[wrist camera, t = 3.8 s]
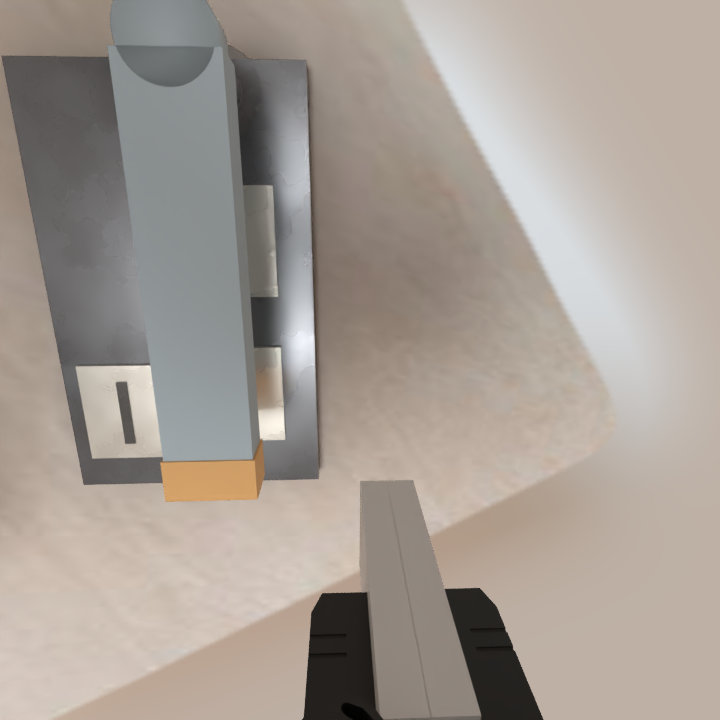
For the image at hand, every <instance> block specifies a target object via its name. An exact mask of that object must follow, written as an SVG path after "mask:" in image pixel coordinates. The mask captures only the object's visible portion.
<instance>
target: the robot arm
mask: <svg viewBox="0 0 720 720" xmlns="http://www.w3.org/2000/svg"><path fill="white" fill-rule="evenodd" d="M359 562H360V578H361V592H360V593H322V595H321V597H320V598H319V600H318V602H317V604H316V606H315V607H314V609H313V611H312V613H311V628H310V641H309V657H308V669H307V683H306V697H305V709H304V718H303V719H302V720H543V718H542V715H541V713H540V710H539V708H538V706H537V703H536V701H535V698H534V696H533V693H532V692H531V689H530V686H529V684H528V682H527V679H526V677H525V674H524V672H523V669H522V667H521V665H520V662H519V660H518V657H517V655H516V652H515V651H514V650H513V645H512V643H511V640H510V638H509V636H508V633H507V632H506V631H505V626H504V623H503V621H502V619H501V616H500V614H499V611H498V609H497V607H496V606H495V604H494V603H493V602H492V601H491V600H490V599H489V598H488V597H487V596H486V594H485V593H484V592H483V591H482V590H481V589H480V588H465V589H444V585H443V582H442V579H441V575H440V572H439V568H438V565H437V561H436V558H435V555H434V552H433V548H432V545H431V541H430V537H429V534H428V530H427V527H426V524H425V520H424V517H423V513H422V510H421V506H420V503H419V500H418V496H417V493H416V489H415V486H414V482H413V480H404V481H360V561H359Z"/></svg>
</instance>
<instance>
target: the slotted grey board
mask: <svg viewBox="0 0 720 720" xmlns="http://www.w3.org/2000/svg"><path fill="white" fill-rule="evenodd" d="M243 60H244V61H243ZM2 61H3V66H4V71H5V76H6V82H7V87H8V92H9V97H10V102H11V108H12V113H13V118H14V123H15V128H16V134H17V139H18V144H19V149H20V154H21V160H22V165H23V170H24V175H25V181H26V186H27V191H28V196H29V201H30V207H31V212H32V217H33V222H34V227H35V233H36V238H37V243H38V248H39V254H40V259H41V264H42V269H43V274H44V280H45V285H46V290H47V295H48V300H49V306H50V311H51V316H52V321H53V327H54V332H55V337H56V342H57V347H58V353H59V358H60V363H61V368H62V373H63V379H64V384H65V389H66V394H67V400H68V405H69V410H70V415H71V420H72V426H73V431H74V436H75V441H76V446H77V452H78V457H79V462H80V467H81V472H82V478H83V483H84V485H93V484H133V483H163V479H162V472H161V465H160V462H161V461H162V460H163V456H162V448H161V441H160V433H159V426H158V418H157V411H156V404H155V396H154V389H153V381H152V374H151V367H150V359H149V352H148V344H147V337H146V329H145V322H144V315H143V307H142V300H141V292H140V285H139V278H138V270H137V263H136V255H135V248H134V241H133V233H132V226H131V218H130V211H129V203H128V196H127V189H126V181H125V174H124V166H123V159H122V152H121V144H120V137H119V129H118V122H117V114H116V107H115V100H114V92H113V85H112V77H111V70H110V63H109V57H57V56H2ZM231 61H232V63H233V64H235V65H234V66H235V73H236V74H235V75H236V76H237V78H239V81H240V83H241V84H242V87H243V88H242V91H243V97H242V101H243V100H244V101H243V102H244V103H246V104H245V105H244V103H243V102H242V104H241V105H240V107H239V110H238V123H239V122H240V123H239V127H243V130H242V128H239V134H240V133H241V134H240V135H239V138H240V153H241V167H242V182H243V197H244V211H245V226H246V241H247V255H248V270H249V285H250V299H251V314H252V329H253V343H254V358H255V373H256V387H257V402H258V417H259V431H260V439H262V440H263V455H264V470H265V476H264V479H263V480H296V479H319V443H318V408H317V374H316V340H315V306H314V271H313V237H312V203H311V168H310V134H309V100H308V68H307V62H306V60H268V59H240V60H239V59H237V60H236V59H231ZM242 61H243V62H242ZM245 61H246V62H245ZM238 62H239V63H238ZM248 63H249V64H248ZM244 66H245V67H244ZM239 67H240V68H239ZM236 68H237V69H236ZM251 69H252V70H251ZM255 69H256V70H255ZM245 70H246V71H245ZM253 70H255V71H253ZM236 71H238V73H237V72H236ZM241 71H242V72H241ZM243 72H244V73H243ZM239 73H240V75H239ZM252 73H253V74H252ZM254 73H255V75H254ZM257 73H258V74H257ZM243 74H245V76H244V75H243ZM246 74H247V75H248V76H247V75H246ZM253 75H254V76H253ZM243 76H244V77H243ZM242 77H243V78H242ZM250 77H251V78H250ZM240 78H241V80H240ZM244 78H245V80H243V79H244ZM246 79H247V80H246ZM257 79H258V80H257ZM250 80H251V81H250ZM254 80H255V81H256V80H257V81H256V83H255V82H254ZM242 81H243V82H242ZM245 82H246V83H245ZM248 82H249V83H248ZM244 83H245V84H246V85H245V84H244ZM247 83H248V85H247ZM257 83H258V84H257ZM259 83H260V84H259ZM254 84H255V85H254ZM249 85H250V86H249ZM247 86H248V88H247ZM255 86H256V87H255ZM257 86H258V87H257ZM260 86H261V87H262V88H261V87H260ZM245 87H246V88H247V89H246V88H245ZM250 87H251V88H250ZM245 89H246V90H245ZM254 90H255V92H254ZM248 91H249V95H250V94H251V95H250V96H251V97H250V96H249V95H248ZM250 91H251V92H250ZM256 91H257V92H256ZM260 91H261V92H260ZM244 92H245V95H244ZM252 93H253V95H252ZM256 93H257V95H256ZM260 93H261V94H260ZM246 95H247V96H246ZM260 95H261V96H262V98H261V96H260ZM245 96H246V97H245ZM248 96H249V97H248ZM253 96H254V97H253ZM257 96H258V98H257ZM249 98H250V99H251V98H252V99H251V100H252V101H251V100H249ZM253 98H254V101H255V103H254V101H253ZM255 98H256V99H255ZM260 98H261V99H262V100H261V99H260ZM245 99H246V100H245ZM257 99H258V100H257ZM247 101H248V102H247ZM257 101H258V103H257ZM247 103H249V104H247ZM259 103H260V104H259ZM256 104H257V107H256ZM248 105H249V106H248ZM252 106H253V107H252ZM254 106H255V108H256V109H255V110H254ZM242 107H243V108H242ZM248 107H249V108H248ZM250 107H251V110H250ZM246 108H247V110H246ZM260 108H261V109H260ZM252 109H253V110H252ZM245 110H246V111H245ZM248 110H249V111H248ZM241 111H242V112H241ZM243 111H244V112H243ZM253 111H254V113H253ZM255 111H256V112H255ZM239 112H240V113H239ZM250 112H251V113H252V114H251V113H250ZM257 112H258V113H257ZM249 113H250V114H249ZM255 113H256V114H255ZM242 114H243V115H244V116H243V115H242ZM245 114H246V115H245ZM247 114H248V116H247ZM257 114H258V115H257ZM239 115H240V116H241V118H240V116H239ZM251 115H252V116H253V117H251ZM255 115H256V116H255ZM249 118H250V119H249ZM241 119H242V120H241ZM247 120H248V121H249V122H248V121H247ZM252 120H253V121H252ZM245 121H246V122H245ZM241 122H242V123H241ZM250 122H251V123H250ZM247 127H248V128H247ZM246 128H247V129H246ZM240 129H241V131H240ZM243 132H244V133H243Z"/></svg>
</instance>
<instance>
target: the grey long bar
mask: <svg viewBox="0 0 720 720" xmlns="http://www.w3.org/2000/svg"><path fill="white" fill-rule="evenodd" d="M110 25H111V32H112V37H113V40H114V44H115V45H107V48H108V55H109V63H110V70H111V77H112V85H113V92H114V100H115V107H116V114H117V122H118V129H119V137H120V144H121V152H122V159H123V166H124V174H125V181H126V189H127V196H128V203H129V211H130V218H131V226H132V233H133V241H134V248H135V255H136V263H137V270H138V278H139V285H140V292H141V300H142V307H143V315H144V322H145V329H146V337H147V344H148V352H149V359H150V367H151V374H152V381H153V389H154V396H155V404H156V411H157V418H158V426H159V433H160V441H161V448H162V456H163V460H162V461H161V462H160V465H161V472H162V479H163V487H164V494H165V501H166V502H174V501H212V500H250V499H258V496H259V493H260V489H261V486H262V482H263V479H264V476H265V470H264V455H263V440H262V439H260V431H259V417H258V402H257V387H256V373H255V358H254V343H253V329H252V314H251V299H250V285H249V270H248V255H247V241H246V226H245V211H244V197H243V182H242V167H241V153H240V138H239V123H238V109H237V94H236V79H235V66H234V64H233V63H232V61H231V59H230V58H229V55H228V44H227V40H226V36H225V34H224V31H223V29H222V27H221V25H220V23H219V21H218V20H217V18H216V16H215V15H214V13H213V11H212V9H211V8H210V6H209V4H208V3H207V1H206V0H113V3H112V7H111V13H110Z"/></svg>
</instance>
